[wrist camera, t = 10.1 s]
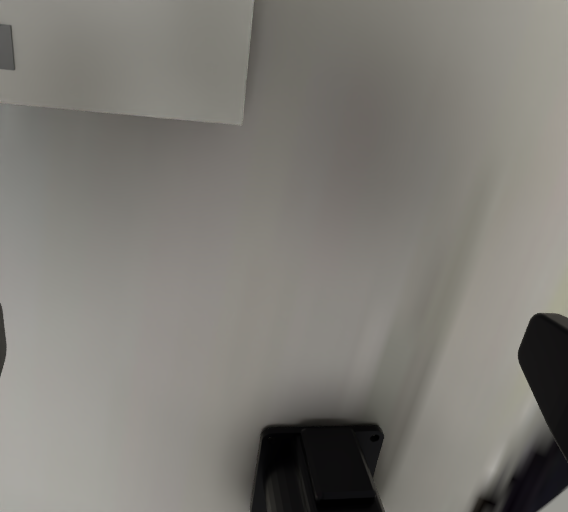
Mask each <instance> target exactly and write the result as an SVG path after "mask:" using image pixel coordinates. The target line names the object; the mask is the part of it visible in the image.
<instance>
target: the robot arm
mask: <svg viewBox="0 0 568 512" xmlns="http://www.w3.org/2000/svg"><path fill="white" fill-rule="evenodd" d="M5 357H6V337H5V328H4V319H3V311H2V306H1V303H0V376H1V372H2V369H3V365H4V362H5ZM518 360H519V364H520V366H521V368H522V370H523V373H524V375H525V377H526V379H527V381H528V384H529V386H530V388H531V390H532V392H533V394H534V397H535V399H536V401H537V403H538V405H539V408H540V410H541V412H542V414H543V416H544V418H545V421H546V423H547V425H548V427H549V429H550V431H551V433H552V435H553V437H554V439H555V441H556V442H557V444H558V446H559V448H560V449H561V451H562V453H563V455H564V456H565V458H566V460H567V462H568V318H567V317H565V316H562V315H560V314H555V313H537V314H535V315H534V316H533V317H532V318H531V320H530V322H529V324H528V327H527V329H526V332H525V334H524V337H523V339H522V342H521V344H520V347H519V350H518ZM373 435H374V436H373ZM269 437H273V438H270V439H269ZM383 439H384V434H383V432H382V430H381V428H380V427H379V426H375V425H372V426H320V427H271V428H267V429H265V430H264V431H263V432H262V433H261V437H260V444H259V451H258V458H257V464H256V471H255V478H254V485H253V492H252V498H251V505H250V512H385V510H384V507H383V505H382V502H381V499H380V497H379V494H378V491H377V488H376V486H375V483H374V480H373V475H374V471H375V467H376V464H377V460H378V457H379V453H380V450H381V446H382V443H383Z"/></svg>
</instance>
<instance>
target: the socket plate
mask: <svg viewBox="0 0 568 512" xmlns="http://www.w3.org/2000/svg"><path fill="white" fill-rule="evenodd" d="M253 8H254V0H0V103H2V104H13V105H24V106H35V107H46V108H56V109H67V110H78V111H89V112H100V113H111V114H122V115H133V116H143V117H154V118H165V119H176V120H187V121H198V122H209V123H220V124H230V125H241V126H242V124H243V113H244V103H245V92H246V82H247V71H248V61H249V50H250V40H251V29H252V19H253Z"/></svg>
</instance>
